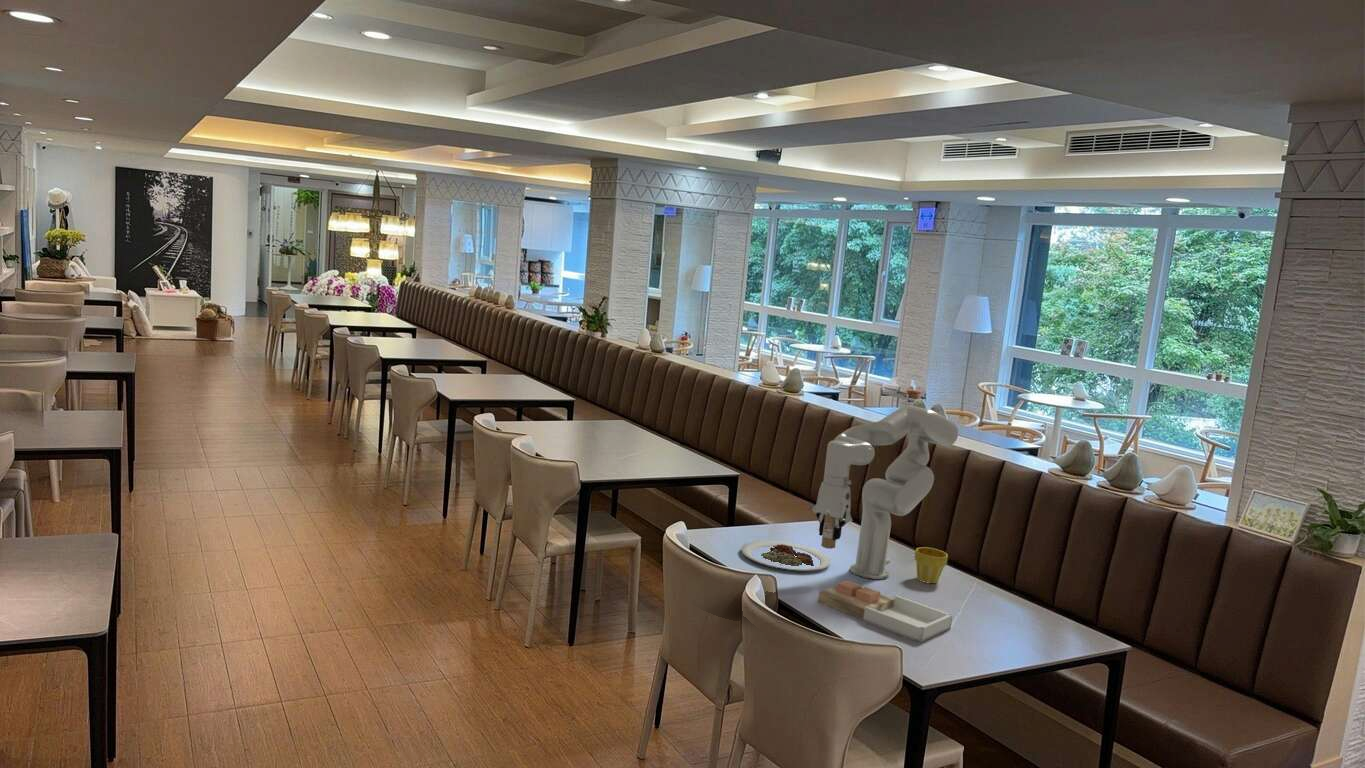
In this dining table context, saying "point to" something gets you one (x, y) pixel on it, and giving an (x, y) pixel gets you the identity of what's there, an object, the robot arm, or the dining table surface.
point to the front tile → (867, 595)
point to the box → (910, 619)
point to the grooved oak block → (852, 602)
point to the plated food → (786, 554)
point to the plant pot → (930, 563)
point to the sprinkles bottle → (828, 532)
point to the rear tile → (848, 588)
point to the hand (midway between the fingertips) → (829, 536)
